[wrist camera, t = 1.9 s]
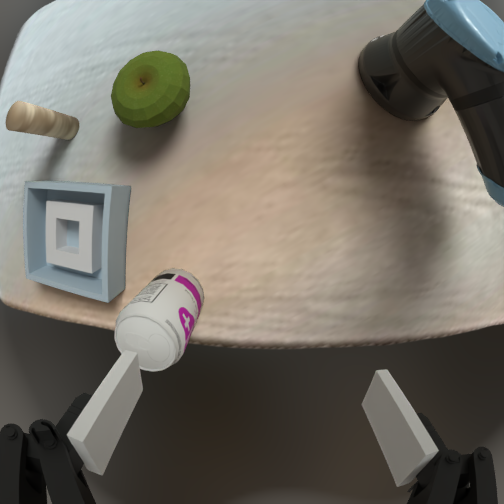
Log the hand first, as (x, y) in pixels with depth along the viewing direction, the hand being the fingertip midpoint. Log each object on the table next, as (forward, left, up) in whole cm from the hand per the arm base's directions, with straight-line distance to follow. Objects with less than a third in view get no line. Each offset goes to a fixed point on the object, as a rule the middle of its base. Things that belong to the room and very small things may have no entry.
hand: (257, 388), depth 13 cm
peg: (-17, -33, -26) cm, 46 cm away
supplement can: (+7, -10, -27) cm, 29 cm away
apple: (-21, -16, -27) cm, 38 cm away
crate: (0, -28, -26) cm, 39 cm away
